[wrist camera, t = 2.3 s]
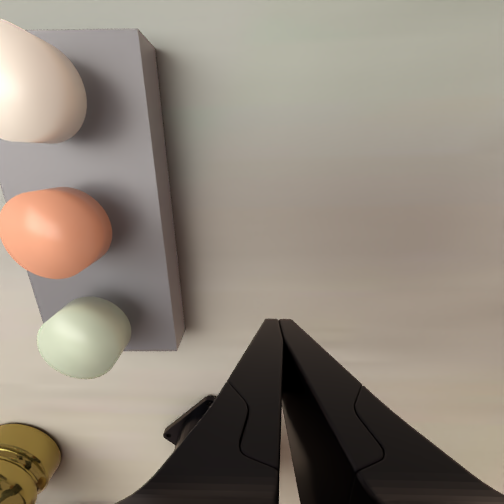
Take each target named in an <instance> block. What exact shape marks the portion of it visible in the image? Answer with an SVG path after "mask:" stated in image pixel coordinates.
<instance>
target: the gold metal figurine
mask: <svg viewBox="0 0 504 504" xmlns="http://www.w3.org/2000/svg"><path fill="white" fill-rule="evenodd" d="M60 461H61V454H60V450H59V448H58V446H57V444H56V443H55V442H54V440H53V439H52V438H51V437H49V436H48V435H47V434H45V433H44V432H42V431H40V430H38V429H36V428H33V427H30V426H27V425H22V424H5V425H1V426H0V504H35V503H36V500H37V494H39V493H41V492H42V491H43V490H44V489H45V488H46V487H47V485H48V482H49V480H50V479H51V477H52V475H53V474H54V472H55V471H56V469H57V468H58V466H59V464H60Z"/></svg>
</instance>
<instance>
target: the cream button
mask: <svg viewBox="0 0 504 504" xmlns="http://www.w3.org/2000/svg"><path fill="white" fill-rule="evenodd" d="M86 109H87V99H86V92H85V88H84V85H83V82H82V79H81V77H80V75H79V73H78V71H77V70H76V68H75V66H74V65H73V64H72V62H71V61H70V60H69V59H68V58H67V57H66V56H65V55H64V54H63V53H62V52H61V51H60V50H59V49H57V48H56V47H54V46H53V45H51V44H49V43H47V42H45V41H44V40H42V39H40V38H38V37H36V36H34V35H33V34H31V33H29V32H27V31H25V30H23V29H22V28H20V27H18V26H16V25H14V24H12V23H10V22H8V21H6V20H3V19H0V139H3V140H7V141H12V142H29V143H47V144H54V143H60V142H64V141H66V140H68V139H70V138H71V137H73V136H74V135H75V134H76V133H77V132H78V131H79V129H80V128H81V126H82V124H83V122H84V119H85V115H86Z"/></svg>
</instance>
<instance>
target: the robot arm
mask: <svg viewBox="0 0 504 504" xmlns="http://www.w3.org/2000/svg"><path fill="white" fill-rule="evenodd" d="M282 408H283V413H284V418H285V424H286V429H287V434H288V440H289V445H290V450H291V456H292V461H293V466H294V471H295V477H296V482H297V487H298V493H299V498H300V503H301V504H504V495H503V494H501V493H500V492H498V491H496V490H494V489H493V488H491V487H490V486H488V485H486V484H485V483H483V482H482V481H481V480H479V479H478V478H477V477H475V476H474V475H472V474H471V473H470V472H469V471H467V470H466V469H465V468H463V467H462V466H461V465H460V464H458V463H457V462H456V461H455V460H453V459H452V458H451V457H449V456H448V455H447V454H446V453H444V452H443V451H442V450H440V449H439V448H438V447H437V446H435V445H434V444H433V443H432V442H430V441H429V440H428V439H426V438H425V437H424V436H423V435H421V434H420V433H419V432H417V431H416V430H415V429H414V428H412V427H411V426H410V425H409V424H407V423H406V422H405V421H404V420H402V419H401V418H400V417H399V416H398V415H396V414H395V413H394V412H393V411H391V410H390V409H389V408H388V407H387V406H386V405H385V404H383V403H382V402H381V401H380V400H379V399H378V398H377V397H376V396H374V395H373V394H372V393H371V392H370V391H369V390H368V389H367V388H366V387H365V386H362V384H361V383H360V382H359V381H358V380H357V379H356V378H355V377H354V376H352V375H351V374H350V373H349V372H348V371H347V370H346V369H345V368H344V367H343V366H342V365H341V364H339V363H338V362H337V361H336V360H335V359H334V358H333V357H332V356H331V355H330V354H329V353H328V352H326V351H325V350H324V349H323V348H322V347H321V346H320V345H319V344H318V343H317V342H316V341H314V340H313V339H312V338H311V337H310V336H309V335H308V334H307V333H306V332H305V331H304V330H303V329H301V328H300V327H299V326H298V325H297V324H296V323H295V322H294V321H293V320H291V319H280V320H279V321H278V319H265V320H264V322H263V324H262V325H261V327H260V328H259V330H258V332H257V333H256V335H255V337H254V338H253V340H252V341H251V343H250V345H249V346H248V348H247V350H246V351H245V353H244V354H243V356H242V358H241V359H240V361H239V362H238V364H237V366H236V367H235V369H234V371H233V372H232V374H231V375H230V377H229V379H228V380H227V383H225V385H224V387H223V388H222V390H221V391H220V393H219V394H218V396H217V397H216V399H215V398H214V397H212V396H207V397H205V398H204V399H203V400H201V401H200V402H199V403H198V404H196V405H195V406H194V407H193V408H191V409H190V410H189V411H188V412H186V413H185V414H184V415H182V416H181V417H180V418H179V419H177V420H176V421H175V422H174V423H172V424H171V425H170V426H169V427H167V428H166V429H165V431H164V434H163V436H164V438H165V439H167V440H168V441H170V442H171V443H173V444H174V445H176V446H175V449H174V452H173V453H172V454H171V456H170V457H169V458H168V459H167V460H166V462H165V463H164V464H163V465H162V466H161V468H160V469H159V470H158V471H157V472H156V473H155V475H154V476H153V477H152V478H151V479H150V480H149V481H148V482H147V483H146V484H144V485H143V486H142V487H141V488H140V489H139V490H137V491H136V492H134V493H133V494H132V495H130V496H128V497H127V498H125V499H123V500H121V501H119V502H117V503H115V504H279V471H280V441H281V410H282Z"/></svg>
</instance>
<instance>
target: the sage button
mask: <svg viewBox="0 0 504 504" xmlns="http://www.w3.org/2000/svg"><path fill="white" fill-rule="evenodd" d="M130 338H131V325H130V322H129V320H128V318H127V316H126V315H125V313H124V312H123V311H122V310H121V309H120V308H119V307H118V306H116V305H115V304H113V303H112V302H110V301H108V300H105V299H102V298H99V297H90V296H89V297H81V298H77V299H75V300H73V301H71V302H70V303H68V304H67V305H66V306H65V307H63V308H62V309H61V310H60V311H58V312H57V313H56V314H55V315H54V316H52V317H51V318H50V319H49V320H47V321H46V322H45V323H44V324H43V325H42V326H41V328H40V329H39V331H38V335H37V346H38V349H39V352H40V354H41V356H42V357H43V359H44V360H45V361H46V362H47V363H48V364H49V365H50V366H51V367H52V368H54V369H55V370H56V371H58V372H60V373H62V374H64V375H66V376H69V377H73V378H78V379H92V378H97V377H100V376H102V375H104V374H106V373H107V372H108V371H109V370H110V369H111V368H112V367H113V365H114V364H115V362H116V361H117V359H118V358H119V356H120V355H121V353H122V352H123V350H124V349H125V347H126V346H127V344H128V343H129V341H130Z"/></svg>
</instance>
